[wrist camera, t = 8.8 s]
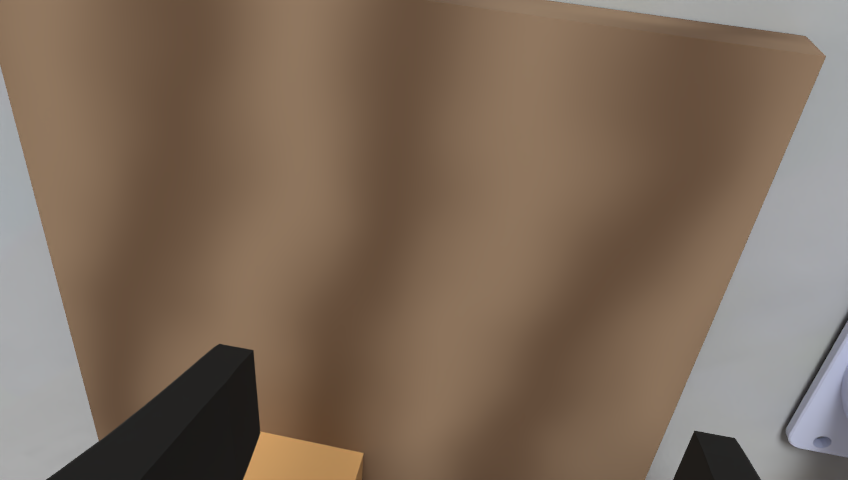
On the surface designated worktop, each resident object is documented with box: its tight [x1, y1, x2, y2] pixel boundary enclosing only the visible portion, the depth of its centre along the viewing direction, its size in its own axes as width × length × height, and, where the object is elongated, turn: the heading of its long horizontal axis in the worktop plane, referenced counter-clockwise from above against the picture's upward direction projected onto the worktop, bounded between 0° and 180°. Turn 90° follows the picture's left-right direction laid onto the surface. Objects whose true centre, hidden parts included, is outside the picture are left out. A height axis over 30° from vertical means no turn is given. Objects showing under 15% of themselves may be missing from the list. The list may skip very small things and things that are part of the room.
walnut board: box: [0, 0, 826, 480], centre depth 23 cm, size 20×25×2 cm
